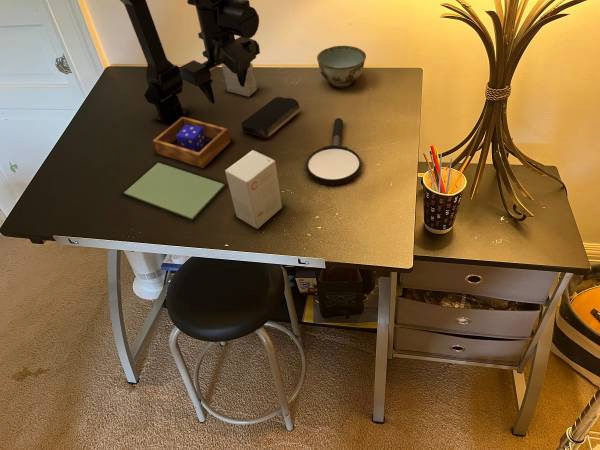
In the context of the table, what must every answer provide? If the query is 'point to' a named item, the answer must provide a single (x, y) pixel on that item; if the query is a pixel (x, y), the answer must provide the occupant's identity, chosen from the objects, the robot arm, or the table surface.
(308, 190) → the table surface
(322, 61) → the bowl
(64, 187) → the table surface
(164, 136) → the pine box
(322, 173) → the magnifying glass
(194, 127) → the die
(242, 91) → the medicine box
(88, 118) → the table surface
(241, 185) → the small box
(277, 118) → the black sponge
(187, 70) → the robot arm
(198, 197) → the mat
